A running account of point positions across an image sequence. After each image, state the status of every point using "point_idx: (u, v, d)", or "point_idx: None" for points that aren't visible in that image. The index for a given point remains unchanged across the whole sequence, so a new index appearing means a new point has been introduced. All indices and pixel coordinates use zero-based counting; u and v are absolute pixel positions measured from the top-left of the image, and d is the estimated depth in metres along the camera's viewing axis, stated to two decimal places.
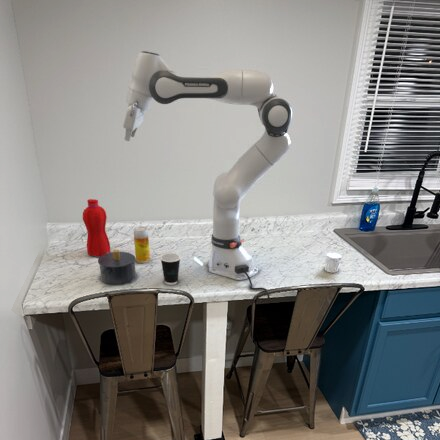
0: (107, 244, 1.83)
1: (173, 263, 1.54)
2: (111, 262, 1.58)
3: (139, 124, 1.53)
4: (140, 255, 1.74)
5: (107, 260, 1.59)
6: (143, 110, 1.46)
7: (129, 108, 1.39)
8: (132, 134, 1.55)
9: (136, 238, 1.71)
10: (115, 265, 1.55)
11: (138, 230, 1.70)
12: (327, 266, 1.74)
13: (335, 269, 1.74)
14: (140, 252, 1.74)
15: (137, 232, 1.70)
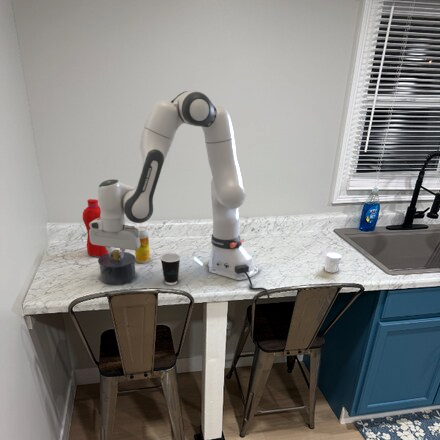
0: None
1: (173, 263, 1.54)
2: (111, 262, 1.58)
3: None
4: (140, 255, 1.74)
5: (107, 260, 1.59)
6: None
7: (133, 233, 1.52)
8: None
9: None
10: (115, 265, 1.55)
11: (138, 230, 1.70)
12: (327, 266, 1.74)
13: (335, 269, 1.74)
14: (140, 252, 1.74)
15: None
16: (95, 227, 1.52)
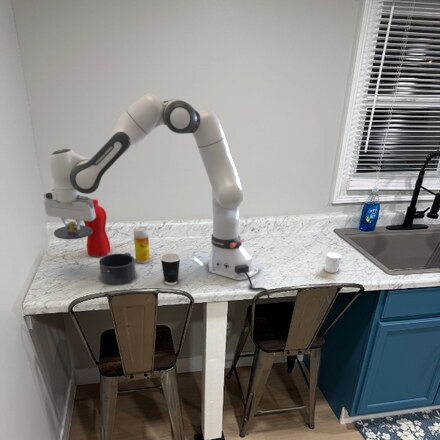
0: (107, 244, 1.83)
1: (173, 263, 1.54)
2: (67, 234, 1.57)
3: None
4: (140, 255, 1.74)
5: (63, 232, 1.58)
6: None
7: (87, 204, 1.51)
8: None
9: (136, 238, 1.71)
10: (70, 236, 1.55)
11: (138, 230, 1.70)
12: (327, 266, 1.74)
13: (335, 269, 1.74)
14: (140, 252, 1.74)
15: (137, 232, 1.70)
16: (49, 198, 1.52)
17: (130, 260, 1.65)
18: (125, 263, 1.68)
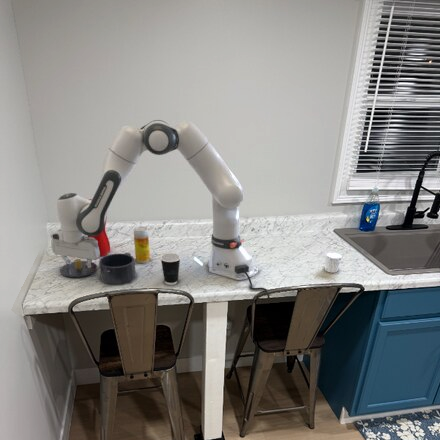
0: (107, 244, 1.83)
1: (173, 263, 1.54)
2: (72, 271, 1.65)
3: None
4: (140, 255, 1.74)
5: (69, 269, 1.67)
6: None
7: (92, 244, 1.59)
8: (69, 262, 1.68)
9: (136, 238, 1.71)
10: (76, 274, 1.63)
11: (138, 230, 1.70)
12: (327, 266, 1.74)
13: (335, 269, 1.74)
14: (140, 252, 1.74)
15: (137, 232, 1.70)
16: (56, 238, 1.60)
17: (130, 260, 1.65)
18: (125, 263, 1.68)
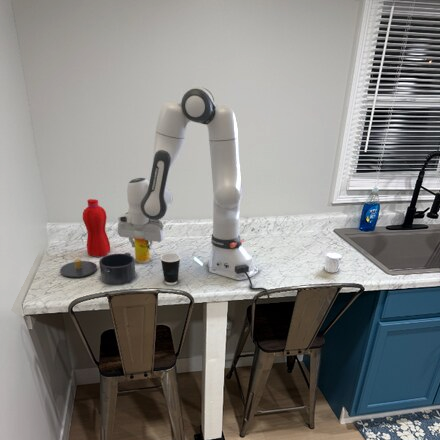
0: (107, 244, 1.83)
1: (173, 263, 1.54)
2: (72, 271, 1.65)
3: None
4: (140, 255, 1.74)
5: (69, 269, 1.67)
6: None
7: (158, 226, 1.67)
8: None
9: (136, 238, 1.71)
10: (76, 274, 1.63)
11: None
12: (327, 266, 1.74)
13: (335, 269, 1.74)
14: (140, 252, 1.74)
15: (137, 232, 1.70)
16: (123, 221, 1.68)
17: (130, 260, 1.65)
18: (125, 263, 1.68)
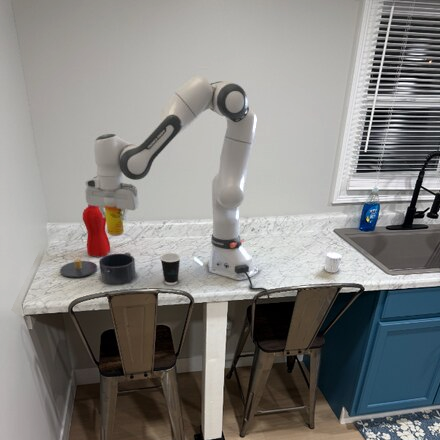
0: (107, 244, 1.83)
1: (173, 263, 1.54)
2: (72, 271, 1.65)
3: None
4: (112, 226, 1.52)
5: (69, 269, 1.67)
6: None
7: (131, 191, 1.45)
8: None
9: (106, 206, 1.48)
10: (76, 274, 1.63)
11: (109, 197, 1.48)
12: (327, 266, 1.74)
13: (335, 269, 1.74)
14: (111, 223, 1.51)
15: (107, 199, 1.47)
16: (91, 185, 1.46)
17: (130, 260, 1.65)
18: (125, 263, 1.68)
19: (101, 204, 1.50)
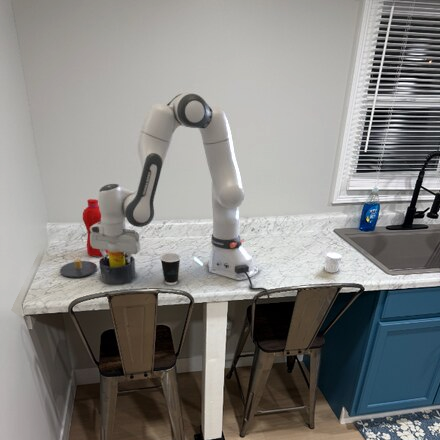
0: None
1: (173, 263, 1.54)
2: (72, 271, 1.65)
3: None
4: None
5: (69, 269, 1.67)
6: None
7: (134, 237, 1.52)
8: (107, 257, 1.61)
9: (110, 252, 1.56)
10: (76, 274, 1.63)
11: None
12: (327, 266, 1.74)
13: (335, 269, 1.74)
14: None
15: (111, 245, 1.55)
16: (96, 231, 1.53)
17: (130, 260, 1.65)
18: (125, 263, 1.68)
19: (105, 248, 1.57)
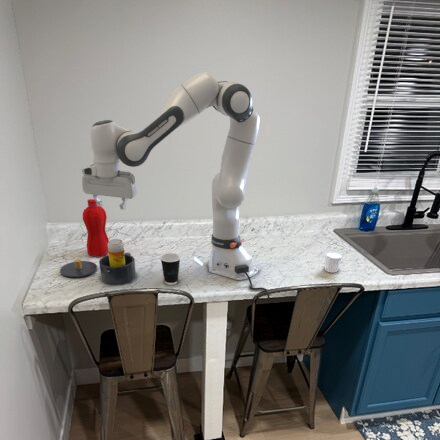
0: (107, 244, 1.83)
1: (173, 263, 1.54)
2: (72, 271, 1.65)
3: None
4: None
5: (69, 269, 1.67)
6: None
7: (129, 179, 1.42)
8: (101, 203, 1.51)
9: (110, 252, 1.56)
10: (76, 274, 1.63)
11: (112, 243, 1.56)
12: (327, 266, 1.74)
13: (335, 269, 1.74)
14: None
15: (111, 245, 1.55)
16: (88, 173, 1.43)
17: (130, 260, 1.65)
18: (125, 263, 1.68)
19: (98, 192, 1.47)
